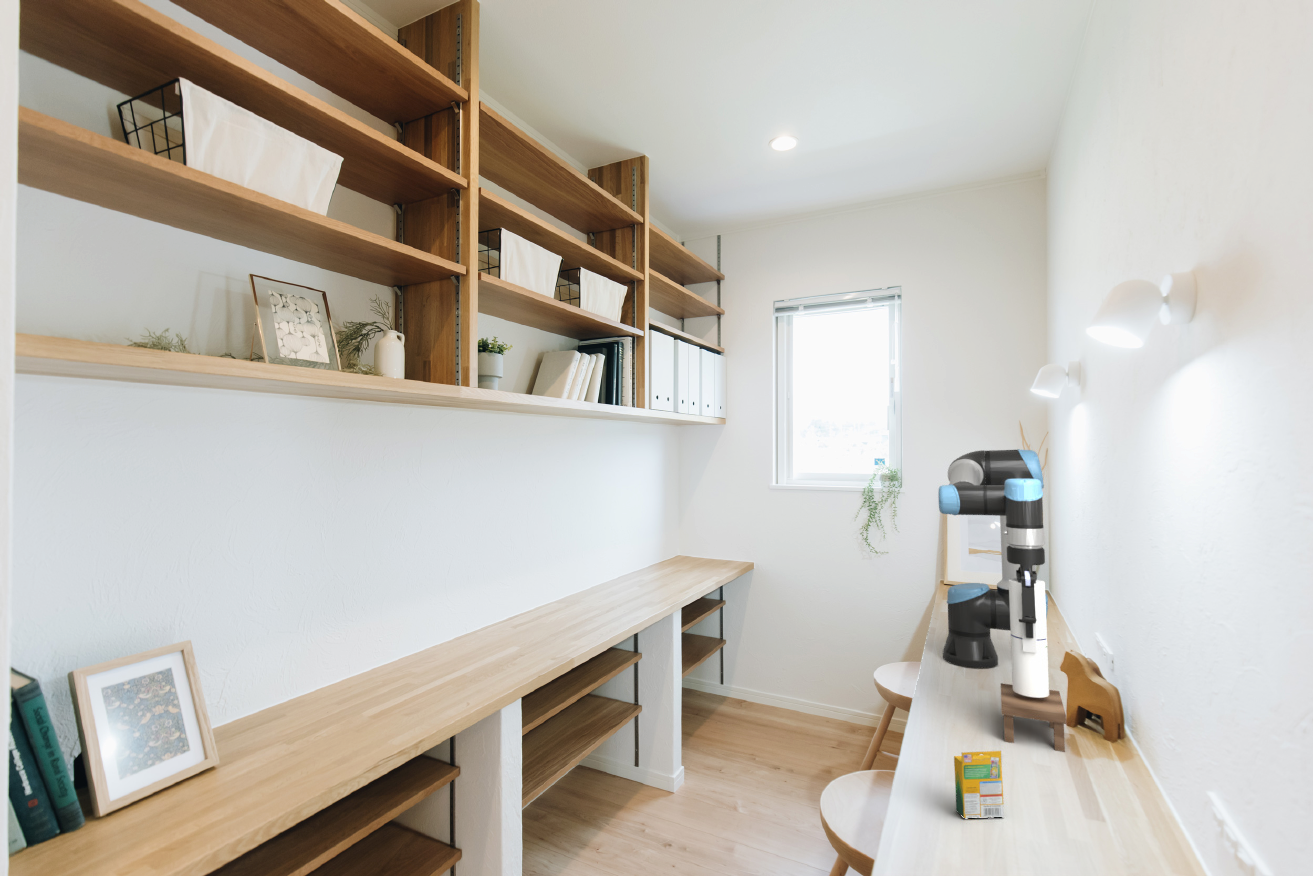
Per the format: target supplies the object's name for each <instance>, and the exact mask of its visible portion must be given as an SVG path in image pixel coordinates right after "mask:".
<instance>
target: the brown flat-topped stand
mask: <svg viewBox="0 0 1313 876" xmlns="http://www.w3.org/2000/svg"><path fill="white" fill-rule="evenodd" d="M1000 701H1001V702H1000V705H1001V709H1000V710H1001V715H1003V730H1004V731H1003V733H1004V742H1006V743H1011V744H1012V743H1013V744H1015V734H1014V733H1015V732H1014V728H1015V727H1014V717H1015V718H1016V717H1017V718H1022V719H1023V718H1024V719H1029V720H1036V721H1037V720H1038V721H1043V722H1048V723H1049V728H1051V729H1052V730H1053V747H1054V751H1058V752H1064V753H1066V748H1065V747H1066V745H1065V744H1066V743H1065V741H1066V740H1065V725H1067V713H1066V711H1065V707H1064V702H1063V699H1062V697H1061V693H1060V691H1059V690H1054V689H1049V696H1047V697H1042V698H1037V697H1029V696H1024V695H1021V694H1018V693H1016V692H1015V691H1013V684H1008V683H1003V682H1002V683H1000Z"/></svg>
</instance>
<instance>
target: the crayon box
mask: <svg viewBox="0 0 1313 876" xmlns="http://www.w3.org/2000/svg"><path fill="white" fill-rule="evenodd" d="M953 762H954V764H953V765H954V767H953V768H954V782H955V786H954V787H955V810H957V811H958V812H959V813H960V814H961V815H962V816H963V817H964V818H972V817H977V818H979V817H991V816H992V817H1004V818H1005V805H1004V785H1003V767H1002V765H1003V763H1002V750H987V751H964V752H963V751H962V752H961V755H955V756H953ZM957 811H956V812H957ZM958 812H957V813H958ZM959 813H958V814H959ZM960 814H959V815H960Z"/></svg>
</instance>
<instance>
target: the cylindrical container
mask: <svg viewBox="0 0 1313 876" xmlns="http://www.w3.org/2000/svg"><path fill="white" fill-rule="evenodd" d="M1034 589H1035V611H1036V619H1037V621H1036V636H1037V653H1032V652H1023V640H1022V622H1019V619H1022V594H1021V593H1022V584H1021V583H1018V580H1017V578H1012V579H1009V603H1010V629H1011V631H1010V649H1011V678H1012V682H1011V684H1012V685H1013V691H1015V692H1016V693H1018V694H1021V695H1024V696H1029V697H1037V698H1042V697H1047V696H1049V690H1050V684H1049V682H1050V679H1049V677H1050V675H1049V658H1048V657H1049V654H1048V653H1049V651H1048V631H1047V630H1048V629H1047V627H1048V626H1047V620H1046V599H1045V594H1046V581H1044V580H1041V579H1037V580H1036V584H1034ZM1030 617H1032V616H1030Z"/></svg>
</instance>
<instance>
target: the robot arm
mask: <svg viewBox="0 0 1313 876" xmlns="http://www.w3.org/2000/svg"><path fill="white" fill-rule="evenodd" d="M947 479H948V481H949V484H946V485H945V484H942V485H940V486H939V488H938V495H937V496H938V497H937V498H938V509H939V512H940V513H941V514H943V515H953V516H994V517H995V516H999V521H1000V522H999V523H1000V551H1001V553H1000V554H1001V575H1002V576H1001V578H1002V579H1001V580H1000V581H999V582H997V583H996V589H990V586H989V585H988V584H987V583H983V582H982V583H980V582H968V583H959V584H954V585H951V586H950V587H949V588H948V589H947V598H946V599H947V600H946V604H947V621H948V622H947V624H948V625H947V626H948V630H947V632H948V634H947V637H946V641H945V642H944V643H945V644H944V647H943V650H942V657H943V660H944V661H945V662H948V663H949V664H951V665H954V666H958V667H962V668H963V667H964V668H971V669H991V668H995V667H997V666H998V665H999V655H998V653H997V651H996V648H995V645H994V643H993V641H992V637H991V630H1002V631H1008V632H1009V631H1010V632H1011V629H1010V603H1009V579H1012V578H1017V580H1018V583H1021V584H1022V593H1021V594H1022V619H1019V622H1022V640H1023V652H1032V653H1037V636H1036V621H1037V619H1036V611H1035V589H1034V584H1036V580H1038V574H1037V570H1036V567H1035V566H1043V565H1044V564H1046V561H1045V560H1046V555H1045V554H1046V552H1045V551H1046V550H1045V548H1044V547H1043V546H1044V545H1045V544H1046V542H1045V527H1044V508H1043V507H1044V505H1043V496H1044V492H1043V489H1044V488H1045V485H1044V477H1043V471H1042V467H1041V462H1040V457H1039V456H1038V453H1037V452H1036V451H1035V450H1031V449H1020V448H1019V449H1018V448H1017V449H1002V450H1001V449H997V450H995V449H994V450H993V449H991V450H985V449H984V450H975V451H970V452H968V453H965V454H962V455H961V456H959V457H958V458H957V457H956V459H954V460H953V461H952V462H951V463H950V464H949V467H948V469H947ZM1048 597H1049V596H1048V594H1047V593H1045V599H1046V621H1047V618H1048V609H1049V606H1048V604H1049V598H1048ZM1030 616H1032V617H1030Z"/></svg>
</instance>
